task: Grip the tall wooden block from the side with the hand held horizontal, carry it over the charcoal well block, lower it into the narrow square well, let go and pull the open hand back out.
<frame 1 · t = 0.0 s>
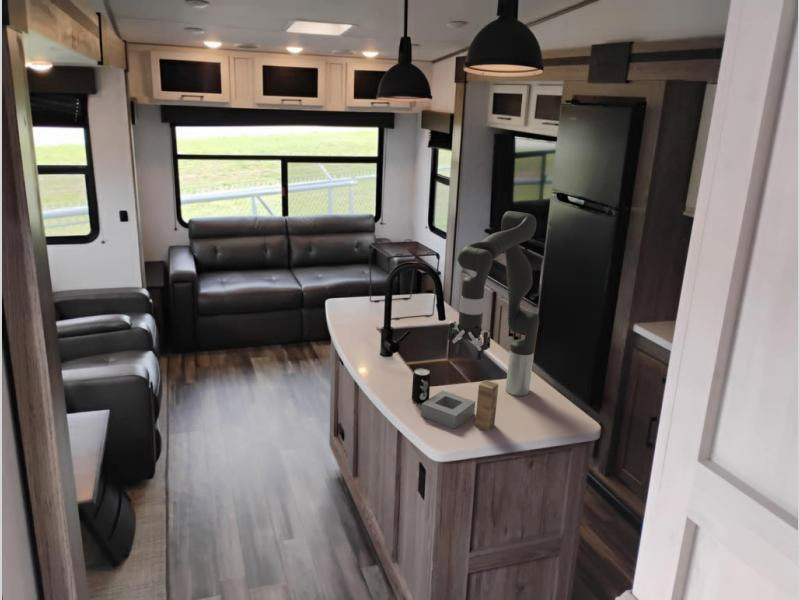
hand: (467, 356, 203), 29 cm above the counter, tool pointing down, fingers open, 8 cm apart
well block: (447, 415, 226), on the counter
beverage can: (420, 401, 236), on the counter
tall wooden block: (484, 425, 220), on the counter
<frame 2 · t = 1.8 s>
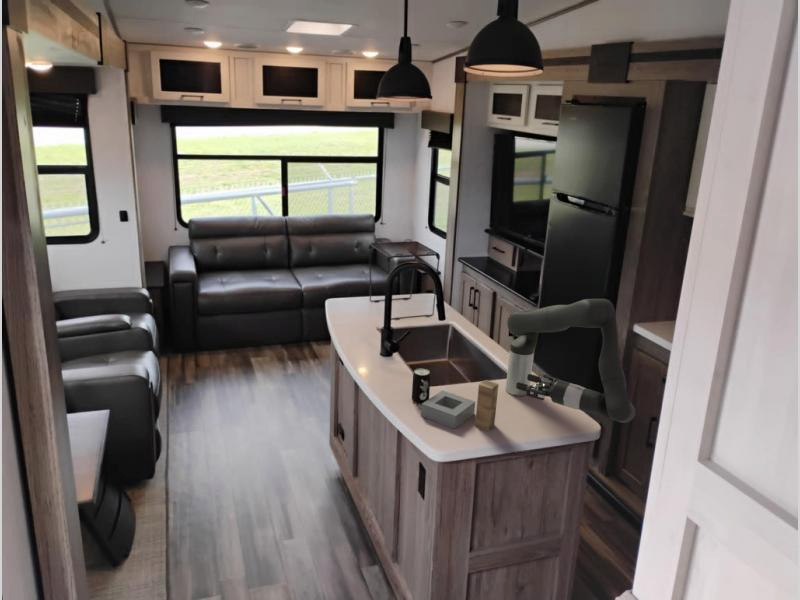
hand: (522, 380, 207), 21 cm above the counter, tool horizontal, fingers open, 8 cm apart
nothing on the counter moved.
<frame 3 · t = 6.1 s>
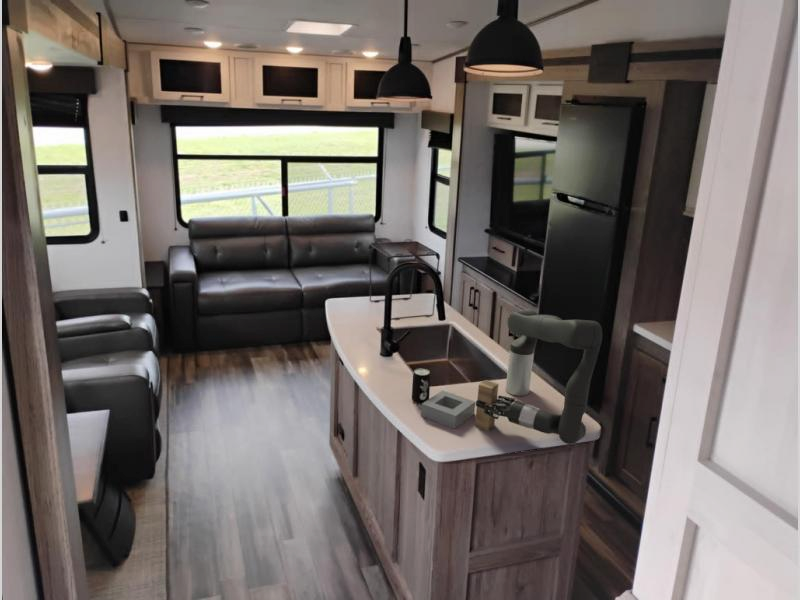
hand: (480, 400, 219), 9 cm above the counter, tool horizontal, fingers closed on tall wooden block, 5 cm apart
tall wooden block: (484, 425, 220), on the counter, touching gripper
everything else where it was.
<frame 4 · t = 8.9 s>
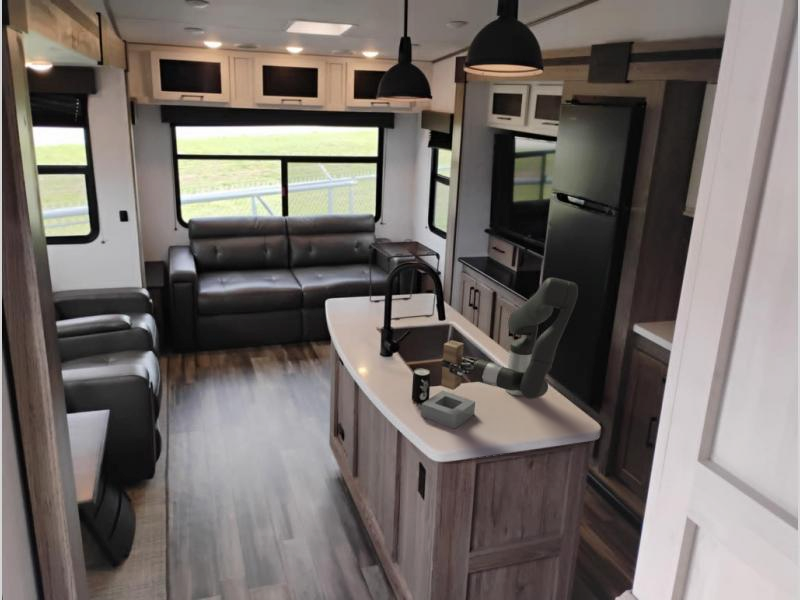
hand: (446, 360, 221), 21 cm above the counter, tool horizontal, fingers closed on tall wooden block, 5 cm apart
tall wooden block: (450, 385, 222), point 12 cm above the counter, touching gripper
everything else where it was.
when the fingers open (11 cm above the counter, at t = 11.7 s): tall wooden block stays where it is, resting on well block.
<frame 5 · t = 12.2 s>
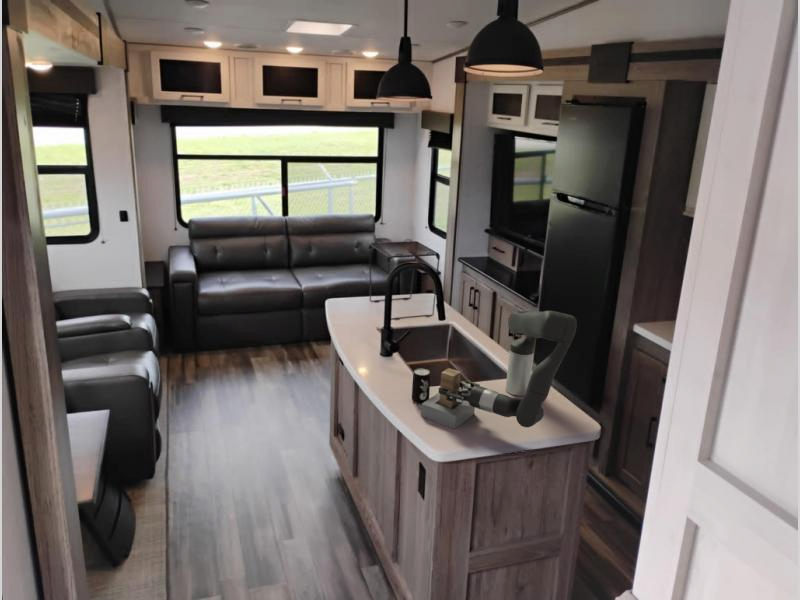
hand: (445, 385, 224), 11 cm above the counter, tool horizontal, fingers open, 8 cm apart
tall wooden block: (448, 412, 226), point 1 cm above the counter, touching well block
everything else where it was.
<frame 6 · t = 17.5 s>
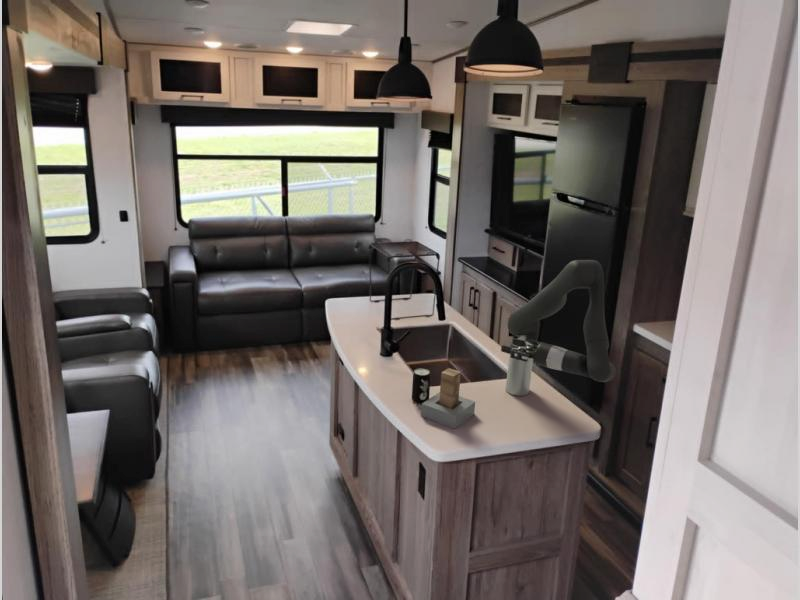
hand: (507, 344, 213), 30 cm above the counter, tool horizontal, fingers open, 8 cm apart
nothing on the counter moved.
at the end: tall wooden block 0.0 cm off-centre on the well block, point 1.0 cm above the well block's base; tall wooden block tilted 0°; the gripper is holding nothing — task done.
